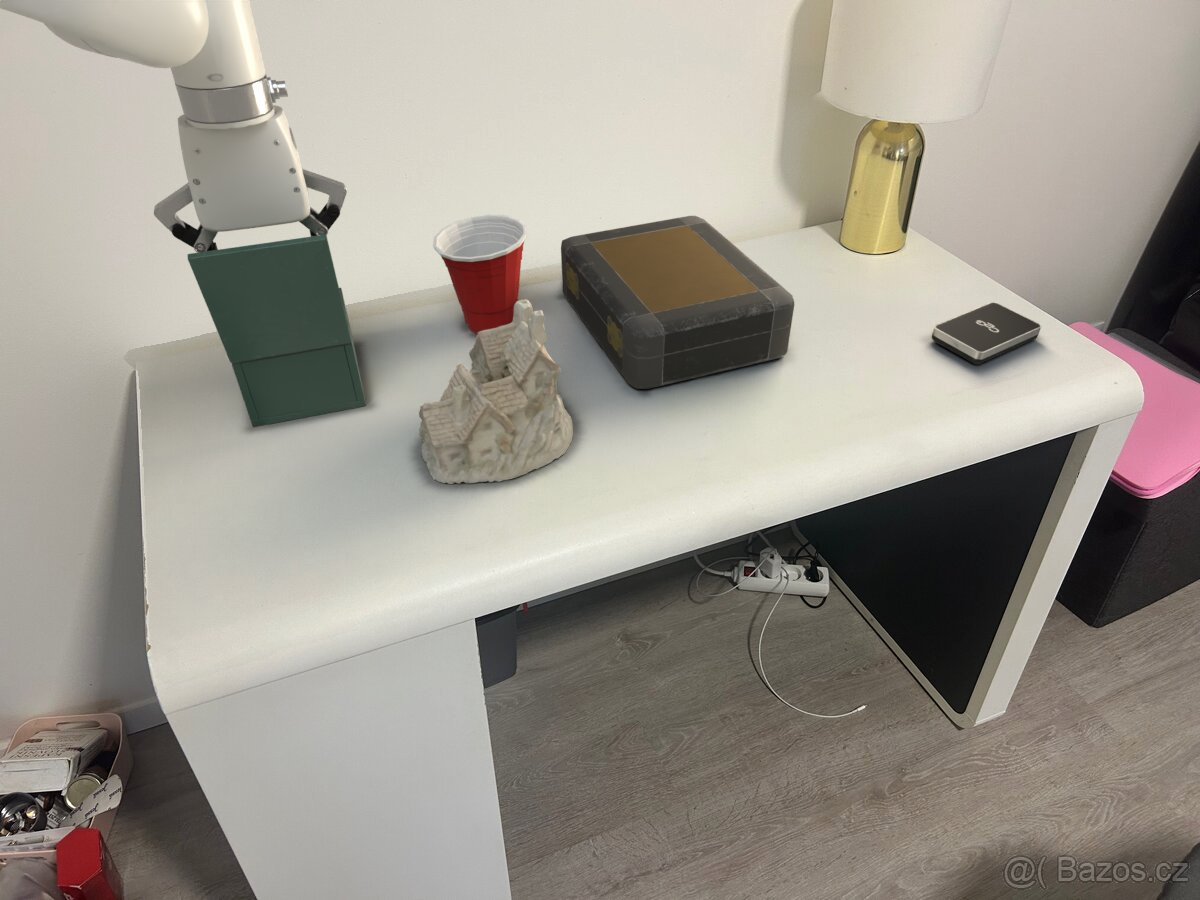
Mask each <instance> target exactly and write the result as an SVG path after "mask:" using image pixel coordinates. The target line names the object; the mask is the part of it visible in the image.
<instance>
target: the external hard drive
mask: <svg viewBox="0 0 1200 900" xmlns="http://www.w3.org/2000/svg"><path fill="white" fill-rule="evenodd" d="M1041 328H1042V324H1041V323H1039V322H1037V321H1035V320H1034V319H1031V318H1029V317H1027V316H1025V315H1023V314H1021V313H1019V312H1017V311H1014V310H1013V309H1010V307H1009V308H1008V307H1006V306H1004V305H1003V304H1000V303H998V302H995V301H991V302H987V303H986V304H984V305H981V306H979V307H975V308H974V309H971V310H969V311H966V312H964V313H961V314H959V315H957V316H954V317H952V318H949V319H946V320H944V321H941V322H939V323H936V324H935V325H934V326H933V329H932V332H931V340H932V341H933V342H935V343H937V344H938V345H940V346H942V347H943V348H945V349H947V350H949V351H951V352H953V353H954V354H956V355H958V356H960V357H961V358H963V359H965V360H966V361H968V362H970V363H971V364H973V365H980V364H982V363H984V362H986V361H989V360H992V359H993V358H996V357H998V356H1000V355H1002V354H1005V353H1007V352H1009V351H1011V350H1014V349H1016V348H1019V347H1020V346H1023V345H1025V344H1027V343H1029V342H1031V341H1033V340H1035V339H1037V338H1038V336H1039V334H1040V332H1041Z"/></svg>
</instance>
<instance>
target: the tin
mask: <svg viewBox="0 0 1200 900" xmlns="http://www.w3.org/2000/svg"><path fill="white" fill-rule="evenodd" d="M339 290H340V294H341V299H342V303H343V307H344V311H345V316H346V320H347V324H348V328H349V333H350V337H351V343H345V344H340V345H334V346H328V347H322V348H316V349H311V350H305V351H299V352H293V353H287V354H282V355H276V356H270V357H264V358H258V359H253V360H247V361H241V362H235V363H231V367H232V370H233V373H234V375H235V379H236V381H237V384H238V387H239V391H240V394H241V396H242V399H243V402H244V404H245V405H244V406H245V408H246V411H247V414H248V417H249V420H250V423H251V425H252V428H257V427H262V426H267V425H272V424H277V423H278V424H279V423H283V422H289V421H294V420H298V419H299V420H300V419H304V418H309V417H314V416H319V415H325V414H330V413H336V412H340V411H347V410H352V409H356V408H361V407H366V406H367V403H366V398H365V392H364V387H363V382H362V378H361V372H360V371H361V370H360V366H359V362H358V357H357V352H356V346H355V342H354V337H353V333H352V328H351V324H350V320H349V315H348V311H347V307H346V303H345V298H344V294H343V289H342V287H339Z"/></svg>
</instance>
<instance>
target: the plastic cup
mask: <svg viewBox="0 0 1200 900" xmlns="http://www.w3.org/2000/svg"><path fill="white" fill-rule="evenodd" d="M527 235H528V233H527V225H526V224H525V223H524V222H523V221H521V220H520V219H519V218H517V217H516V218H515V217H512V216H509V215H504V214H482V215H476V216H470V217H466V218H463V219H460V220H456V221H454V222H452V223H450V224H449V225H447V226H444V227H443V228H441V229H440V230H439V231H438V233H436V234H435V236H433V242H432V247H433V249H434V250H435V251H436V253H438V255H440V257H441V260H442V261H443V263H444V266H445V267H446V269H447V271H448V274H449V277H450V281H451V283H452V286H453V289H454V292H455V295H456V298H457V301H458V304H459V305H460V307H461V310H462V314H463V317H464V320H465V323H466V324H467V327H468V329H469V330H470V331H471V332H472V333H474V334H478V333H477V332H480V331H483V330H488V329H493V328H497V327H500V326H503V325H507V324H510V323H511V322H513V315H514V305H515V303H516V302H517V301H519V291H520V281H521V280H520V278H521V269H522V268H521V267H522V260H523V251H524V244H525V240H526V239H527Z"/></svg>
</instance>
